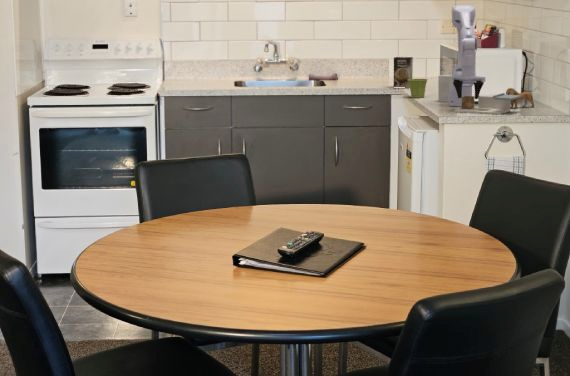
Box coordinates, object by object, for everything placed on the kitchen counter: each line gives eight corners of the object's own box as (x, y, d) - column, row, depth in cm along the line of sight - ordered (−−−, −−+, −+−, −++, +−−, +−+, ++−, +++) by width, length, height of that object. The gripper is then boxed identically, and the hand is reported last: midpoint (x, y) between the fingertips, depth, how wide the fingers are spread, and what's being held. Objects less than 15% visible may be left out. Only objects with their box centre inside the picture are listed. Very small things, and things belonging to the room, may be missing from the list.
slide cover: (492, 99, 396) (492, 95, 396) (502, 96, 405) (502, 93, 405) (511, 100, 392) (511, 96, 392) (521, 97, 401) (521, 94, 400)
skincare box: (454, 101, 442) (454, 75, 440) (449, 102, 439) (449, 76, 437) (442, 100, 446) (443, 74, 444) (437, 101, 443) (438, 75, 441)
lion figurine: (510, 109, 409) (510, 88, 407) (502, 108, 414) (502, 87, 412) (538, 107, 415) (538, 86, 413) (530, 106, 420) (530, 85, 418)
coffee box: (393, 88, 502) (393, 57, 498) (395, 87, 508) (395, 56, 504) (410, 88, 499) (410, 57, 495) (412, 87, 505) (412, 56, 501)
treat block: (461, 108, 408) (461, 97, 407) (465, 107, 411) (465, 96, 410) (470, 109, 406) (470, 97, 405) (474, 108, 409) (474, 96, 408)
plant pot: (404, 97, 463) (404, 79, 461) (421, 96, 467) (421, 78, 465) (413, 99, 455) (413, 80, 453) (431, 97, 458) (431, 79, 456)
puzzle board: (454, 112, 406) (454, 98, 405) (466, 108, 416) (466, 95, 415) (499, 114, 395) (499, 100, 394) (510, 111, 405) (510, 97, 403)
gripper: (448, 66, 406) (448, 98, 409) (480, 67, 398) (480, 100, 401) (455, 65, 412) (455, 96, 414) (487, 66, 404) (487, 98, 406)
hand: (468, 98), depth 408 cm, fingers open, 7 cm apart
